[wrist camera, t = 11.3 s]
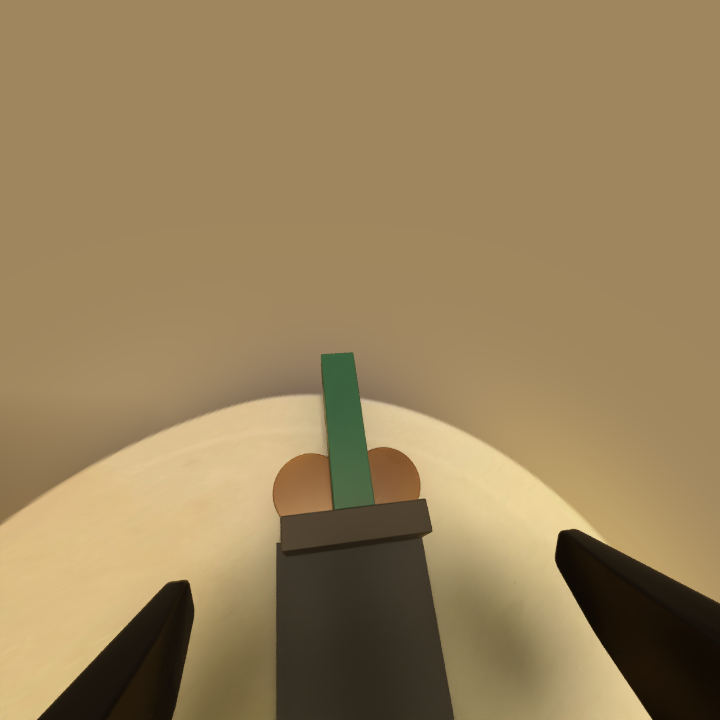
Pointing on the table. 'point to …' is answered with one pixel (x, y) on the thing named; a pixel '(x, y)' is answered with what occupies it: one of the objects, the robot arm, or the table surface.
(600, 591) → the robot arm
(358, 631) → the mat
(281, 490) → the crumb
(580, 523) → the table surface
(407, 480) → the crumb
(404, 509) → the wiper
